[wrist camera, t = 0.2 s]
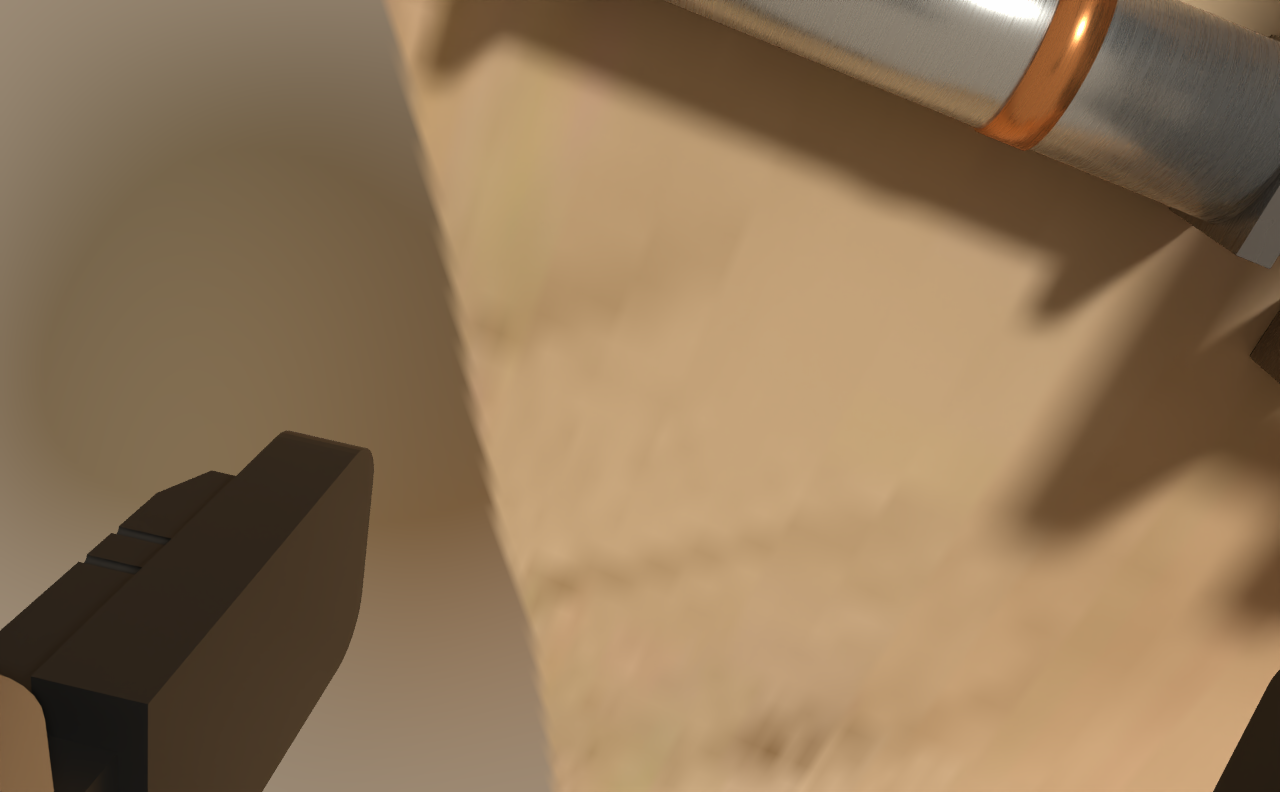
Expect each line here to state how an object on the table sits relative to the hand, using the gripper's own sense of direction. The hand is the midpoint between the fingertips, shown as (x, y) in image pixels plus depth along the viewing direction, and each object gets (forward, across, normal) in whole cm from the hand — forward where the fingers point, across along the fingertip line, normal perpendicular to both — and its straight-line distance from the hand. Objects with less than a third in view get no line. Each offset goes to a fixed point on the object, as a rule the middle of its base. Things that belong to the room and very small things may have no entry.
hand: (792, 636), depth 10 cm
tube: (+28, -3, -4) cm, 28 cm away
